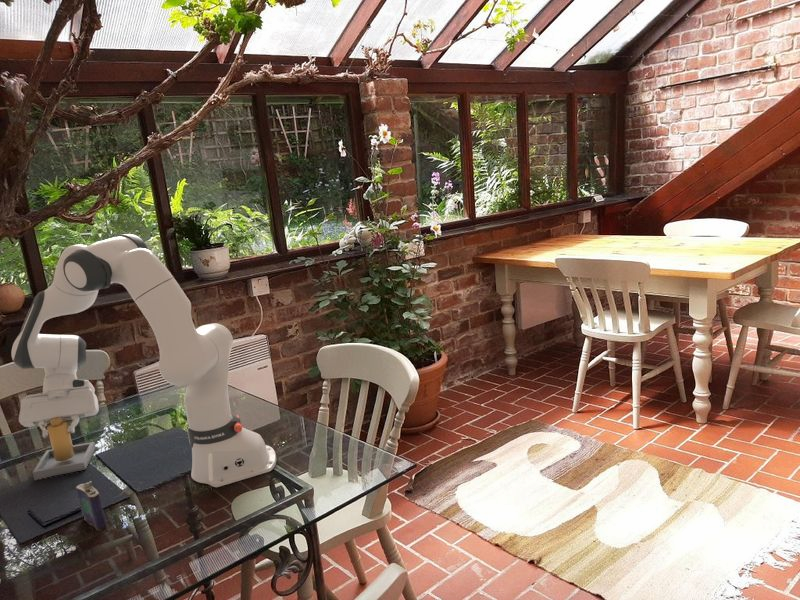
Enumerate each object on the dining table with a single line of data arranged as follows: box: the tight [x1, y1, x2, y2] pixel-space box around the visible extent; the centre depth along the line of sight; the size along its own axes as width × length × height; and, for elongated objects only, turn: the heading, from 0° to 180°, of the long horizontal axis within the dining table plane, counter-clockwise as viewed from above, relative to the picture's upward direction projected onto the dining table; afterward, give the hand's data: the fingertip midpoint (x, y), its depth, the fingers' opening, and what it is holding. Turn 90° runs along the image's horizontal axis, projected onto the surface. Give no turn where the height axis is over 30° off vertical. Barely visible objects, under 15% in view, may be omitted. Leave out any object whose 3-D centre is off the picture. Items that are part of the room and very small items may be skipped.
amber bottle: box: [46, 417, 75, 461], centre depth 172 cm, size 5×5×12 cm
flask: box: [75, 480, 108, 531], centre depth 143 cm, size 9×3×11 cm, turn 50°
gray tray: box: [32, 441, 97, 481], centre depth 173 cm, size 13×13×2 cm
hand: (58, 434), depth 171 cm, fingers closed on amber bottle, 5 cm apart
